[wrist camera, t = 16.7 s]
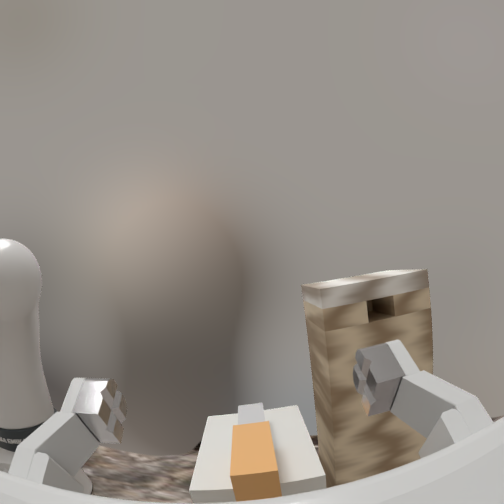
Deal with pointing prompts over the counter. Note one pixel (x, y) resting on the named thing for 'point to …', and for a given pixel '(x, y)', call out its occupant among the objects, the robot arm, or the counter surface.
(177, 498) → the counter surface
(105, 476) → the counter surface
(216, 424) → the pedestal
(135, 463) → the counter surface
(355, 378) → the robot arm
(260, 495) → the plug
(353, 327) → the socket tower
